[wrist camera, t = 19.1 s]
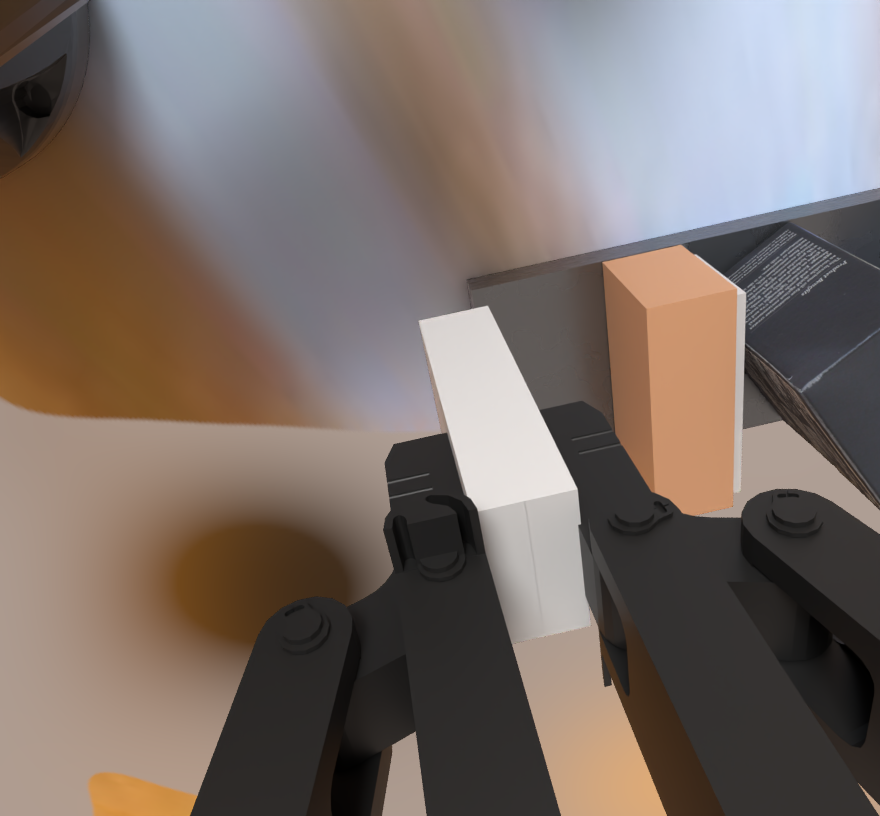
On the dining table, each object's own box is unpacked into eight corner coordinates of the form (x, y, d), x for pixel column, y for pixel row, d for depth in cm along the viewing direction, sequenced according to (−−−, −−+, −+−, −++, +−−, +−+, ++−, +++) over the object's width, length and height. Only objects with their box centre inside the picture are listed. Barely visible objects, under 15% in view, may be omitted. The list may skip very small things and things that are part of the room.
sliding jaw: (617, 458, 44) (656, 524, 39) (602, 262, 38) (646, 309, 33) (695, 441, 44) (744, 504, 39) (692, 242, 38) (750, 285, 33)
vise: (499, 468, 45) (528, 552, 39) (466, 279, 39) (495, 341, 33) (956, 364, 46) (1059, 429, 40) (994, 162, 40) (1124, 200, 33)
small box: (881, 348, 43) (1030, 451, 34) (782, 421, 44) (899, 538, 35) (794, 212, 38) (940, 289, 29) (687, 300, 40) (794, 398, 31)
